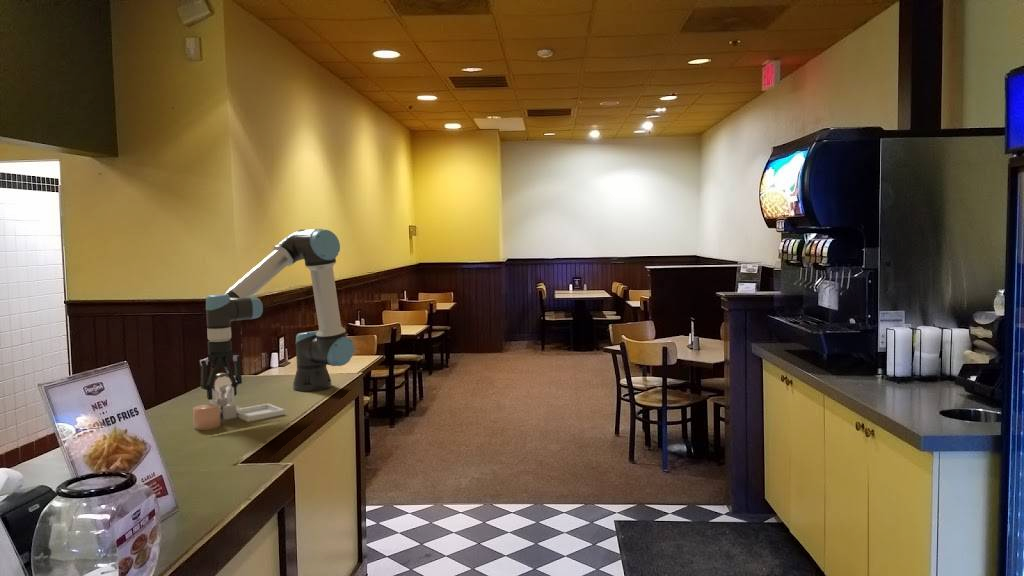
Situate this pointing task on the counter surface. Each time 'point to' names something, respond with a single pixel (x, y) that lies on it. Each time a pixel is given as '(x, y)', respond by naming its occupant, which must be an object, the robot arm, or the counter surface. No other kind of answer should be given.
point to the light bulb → (222, 388)
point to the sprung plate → (230, 405)
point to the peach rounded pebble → (206, 417)
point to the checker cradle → (228, 412)
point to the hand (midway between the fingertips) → (222, 406)
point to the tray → (260, 412)
